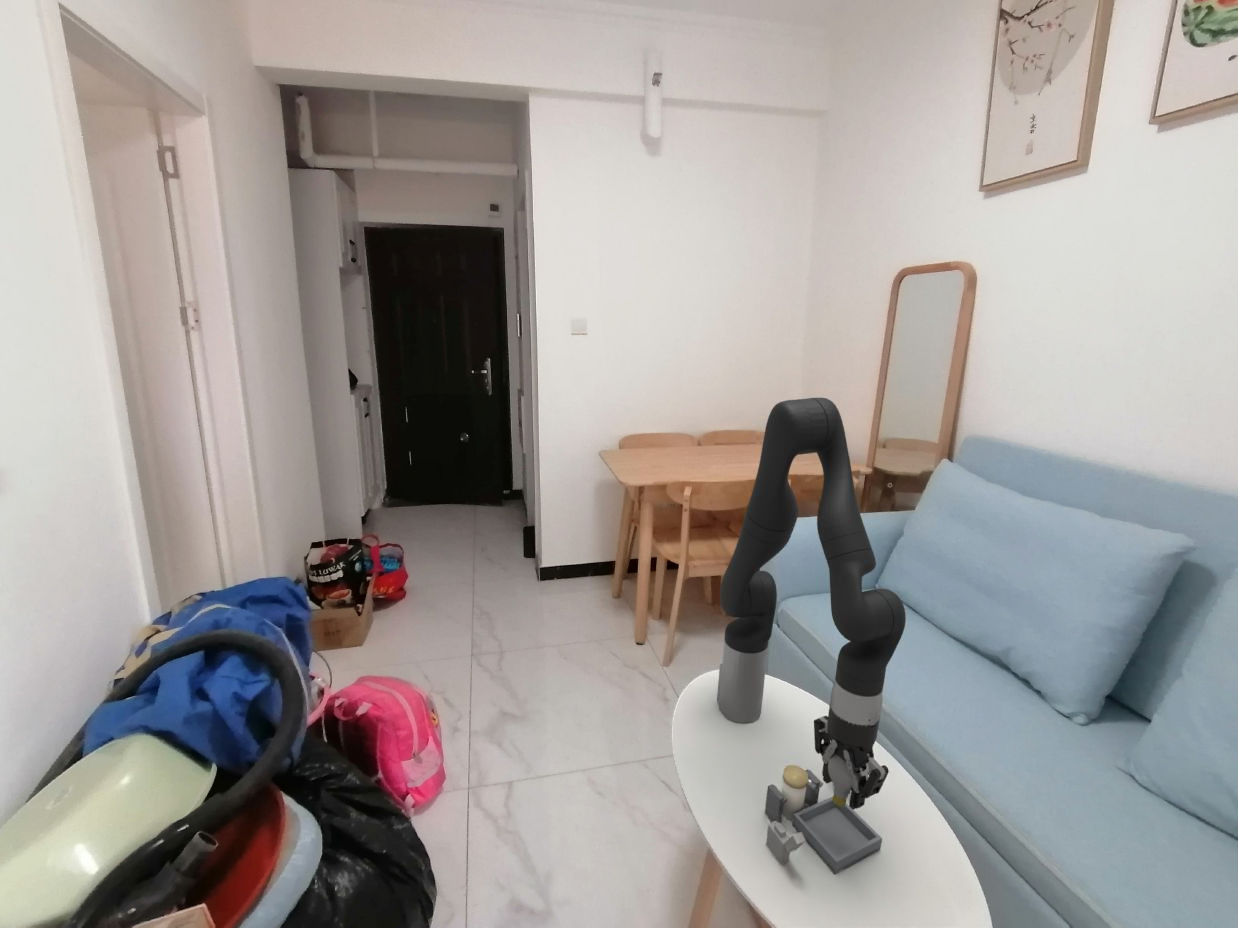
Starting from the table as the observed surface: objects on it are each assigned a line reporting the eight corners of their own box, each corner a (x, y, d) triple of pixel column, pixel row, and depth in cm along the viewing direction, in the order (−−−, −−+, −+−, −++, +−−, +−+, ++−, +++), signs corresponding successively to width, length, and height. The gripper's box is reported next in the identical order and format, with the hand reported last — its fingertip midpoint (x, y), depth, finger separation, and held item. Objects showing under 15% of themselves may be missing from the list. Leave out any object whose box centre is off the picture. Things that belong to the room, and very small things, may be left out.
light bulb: (858, 820, 98) (868, 772, 95) (823, 813, 99) (832, 765, 96) (853, 793, 103) (862, 747, 100) (820, 787, 104) (828, 741, 101)
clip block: (764, 812, 108) (767, 785, 106) (837, 780, 115) (841, 755, 113) (776, 826, 105) (779, 799, 103) (850, 793, 112) (854, 766, 111)
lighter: (765, 843, 102) (769, 805, 99) (773, 840, 102) (778, 802, 100) (792, 880, 95) (797, 840, 93) (801, 876, 96) (806, 837, 94)
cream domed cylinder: (773, 806, 109) (778, 769, 107) (791, 797, 111) (796, 761, 109) (790, 823, 105) (795, 786, 103) (808, 814, 107) (813, 778, 105)
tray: (792, 825, 105) (793, 813, 105) (835, 805, 110) (837, 794, 109) (834, 873, 97) (836, 861, 96) (880, 849, 101) (882, 838, 100)
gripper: (805, 687, 100) (794, 770, 105) (874, 743, 88) (858, 835, 93) (838, 675, 104) (827, 757, 108) (909, 728, 91) (893, 818, 96)
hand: (841, 792), depth 100 cm, fingers closed on light bulb, 5 cm apart
